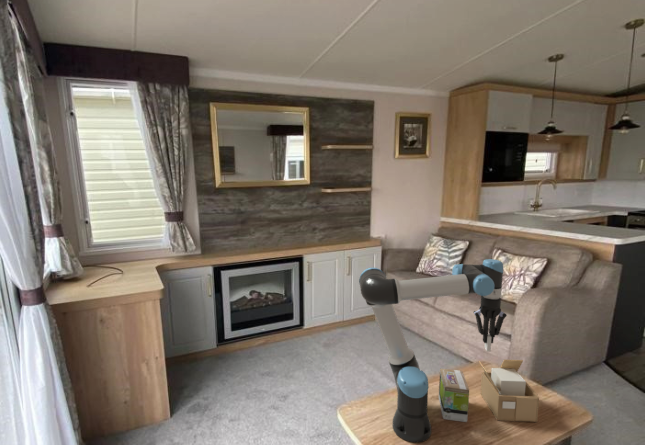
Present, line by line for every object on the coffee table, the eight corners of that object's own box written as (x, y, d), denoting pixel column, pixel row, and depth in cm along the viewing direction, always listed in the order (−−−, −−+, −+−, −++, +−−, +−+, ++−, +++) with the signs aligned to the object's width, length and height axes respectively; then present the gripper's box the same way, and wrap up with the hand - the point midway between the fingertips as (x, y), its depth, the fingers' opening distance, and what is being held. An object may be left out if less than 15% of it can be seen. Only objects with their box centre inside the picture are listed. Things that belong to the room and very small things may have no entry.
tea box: (468, 422, 141) (470, 389, 139) (442, 419, 143) (444, 386, 141) (461, 400, 156) (462, 369, 154) (438, 397, 158) (439, 367, 156)
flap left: (498, 391, 143) (498, 392, 143) (490, 379, 152) (489, 379, 152) (487, 371, 142) (486, 372, 142) (479, 360, 151) (478, 361, 151)
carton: (497, 421, 142) (499, 388, 140) (480, 393, 160) (482, 364, 158) (539, 423, 141) (541, 389, 139) (516, 395, 159) (519, 365, 157)
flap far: (498, 372, 157) (498, 371, 157) (516, 373, 157) (516, 372, 157) (504, 360, 151) (504, 359, 152) (523, 360, 151) (522, 360, 151)
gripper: (478, 299, 139) (474, 353, 142) (511, 300, 138) (507, 354, 141) (471, 293, 147) (468, 345, 150) (503, 293, 146) (499, 346, 149)
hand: (487, 349), depth 146 cm, fingers closed
